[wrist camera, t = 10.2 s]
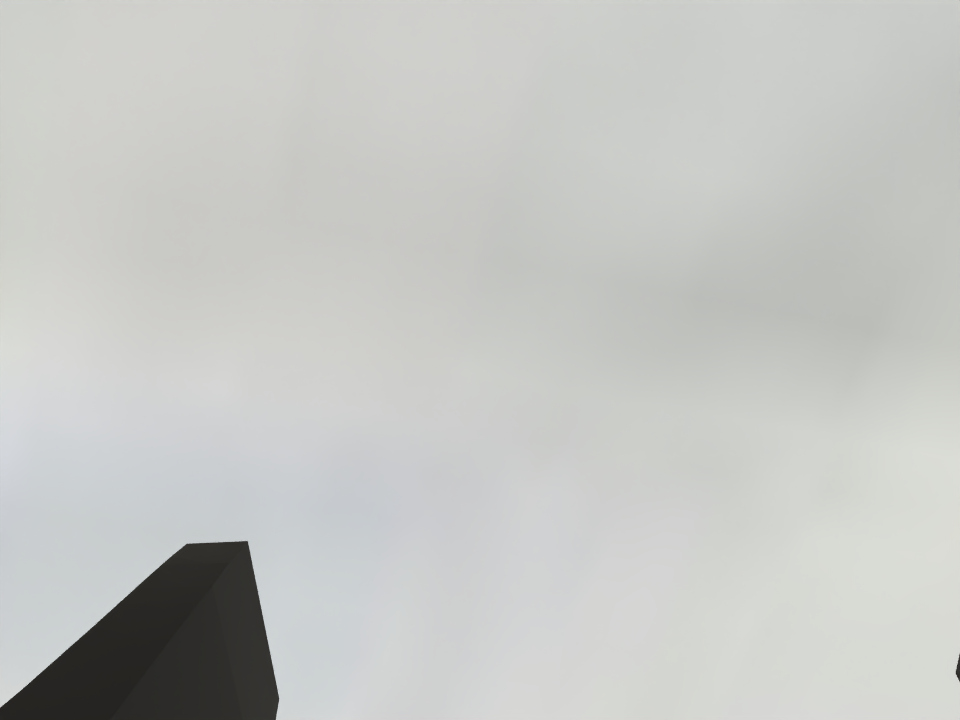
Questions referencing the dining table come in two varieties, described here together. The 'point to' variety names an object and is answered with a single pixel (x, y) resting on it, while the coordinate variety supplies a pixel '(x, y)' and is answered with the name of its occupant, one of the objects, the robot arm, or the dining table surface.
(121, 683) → the robot arm
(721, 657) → the dining table surface
